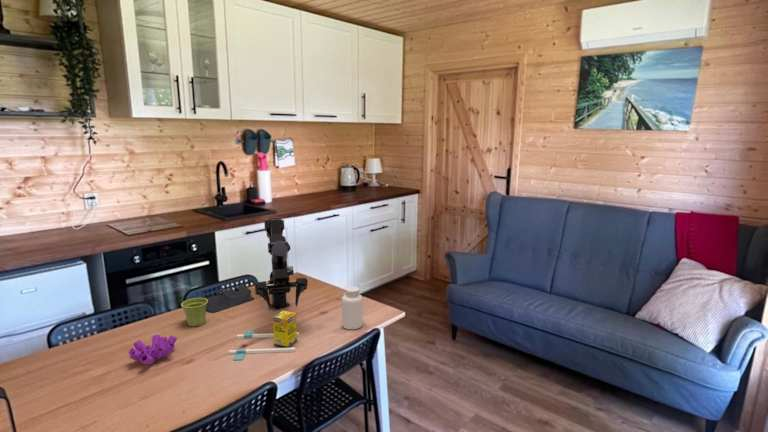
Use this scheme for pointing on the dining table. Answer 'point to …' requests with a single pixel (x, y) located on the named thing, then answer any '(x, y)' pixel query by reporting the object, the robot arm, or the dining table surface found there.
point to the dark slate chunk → (229, 299)
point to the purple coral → (152, 349)
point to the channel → (241, 352)
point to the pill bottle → (352, 308)
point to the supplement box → (285, 329)
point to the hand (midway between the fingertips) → (283, 307)
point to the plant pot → (195, 311)
